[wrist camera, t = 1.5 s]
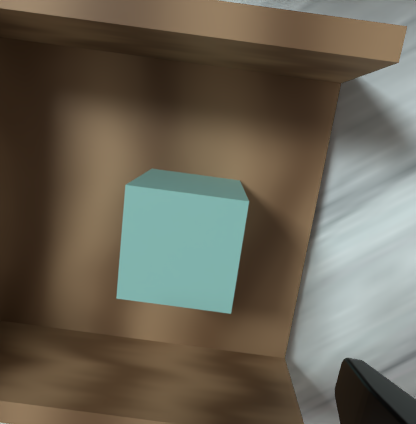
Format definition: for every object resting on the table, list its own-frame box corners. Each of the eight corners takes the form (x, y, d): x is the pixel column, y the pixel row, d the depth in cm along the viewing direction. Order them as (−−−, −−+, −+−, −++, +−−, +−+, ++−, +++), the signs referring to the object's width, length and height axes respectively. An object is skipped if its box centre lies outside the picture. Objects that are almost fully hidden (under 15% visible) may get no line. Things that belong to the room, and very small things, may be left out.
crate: (-22, 326, 24) (-118, 407, 17) (-27, 11, 19) (-159, -52, 13) (279, 366, 24) (304, 461, 17) (340, 62, 20) (407, 26, 13)
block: (143, 252, 21) (116, 298, 16) (151, 168, 20) (125, 185, 14) (227, 263, 21) (231, 313, 16) (239, 180, 20) (249, 201, 14)
